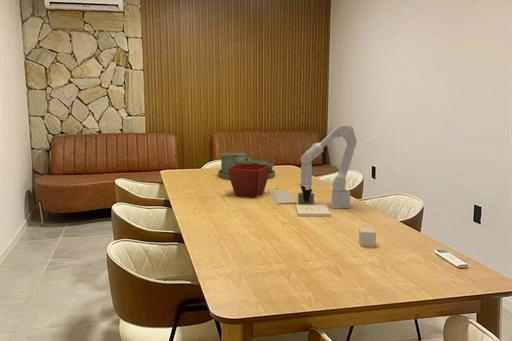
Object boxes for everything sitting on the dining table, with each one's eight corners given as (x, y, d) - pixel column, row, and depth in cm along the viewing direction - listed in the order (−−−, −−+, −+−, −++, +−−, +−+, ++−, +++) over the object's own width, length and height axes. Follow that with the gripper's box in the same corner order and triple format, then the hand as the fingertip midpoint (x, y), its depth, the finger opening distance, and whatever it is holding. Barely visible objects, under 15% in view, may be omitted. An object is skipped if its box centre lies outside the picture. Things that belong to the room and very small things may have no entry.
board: (325, 207, 258) (325, 204, 258) (330, 216, 240) (330, 213, 240) (295, 207, 258) (295, 204, 258) (298, 216, 240) (298, 213, 240)
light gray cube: (358, 241, 203) (359, 227, 202) (373, 242, 202) (374, 228, 201) (360, 246, 197) (360, 232, 196) (375, 246, 196) (376, 232, 195)
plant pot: (227, 196, 282) (227, 167, 279) (240, 190, 299) (240, 162, 296) (258, 199, 274) (258, 170, 271) (270, 192, 292) (270, 164, 289)
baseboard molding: (274, 205, 264) (296, 205, 265) (274, 200, 263) (296, 200, 265) (266, 192, 294) (286, 192, 296) (266, 188, 294) (286, 187, 295)
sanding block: (312, 201, 266) (313, 192, 265) (313, 204, 261) (314, 195, 260) (298, 201, 266) (298, 192, 265) (298, 204, 261) (299, 195, 260)
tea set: (255, 184, 318) (255, 159, 315) (206, 177, 339) (206, 154, 336) (285, 174, 351) (285, 151, 348) (239, 169, 372) (239, 147, 369)
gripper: (297, 173, 268) (297, 197, 271) (300, 178, 254) (299, 203, 256) (310, 173, 268) (310, 197, 270) (313, 178, 254) (313, 203, 256)
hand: (305, 200), depth 263 cm, fingers closed on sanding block, 5 cm apart
